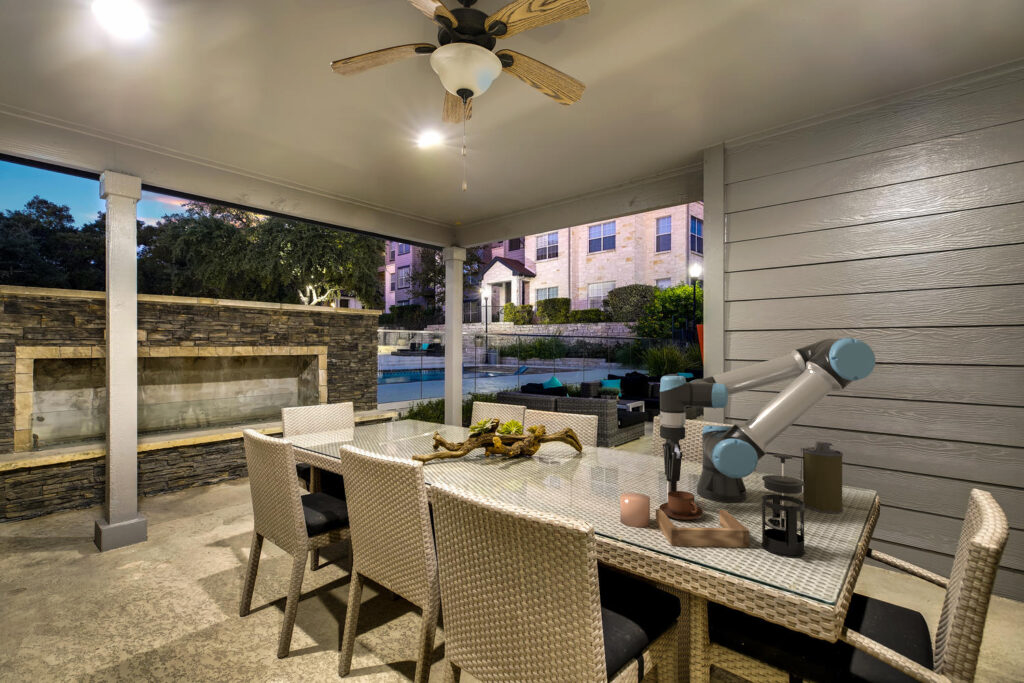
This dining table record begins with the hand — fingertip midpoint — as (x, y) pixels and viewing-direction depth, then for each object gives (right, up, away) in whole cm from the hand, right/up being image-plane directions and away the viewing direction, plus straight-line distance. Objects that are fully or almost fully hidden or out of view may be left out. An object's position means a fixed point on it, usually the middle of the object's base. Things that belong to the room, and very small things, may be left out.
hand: (671, 501), depth 148 cm
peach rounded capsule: (-15, -1, -15) cm, 21 cm away
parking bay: (-1, -1, -23) cm, 23 cm away
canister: (+45, -1, -2) cm, 45 cm away
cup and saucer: (0, -1, -9) cm, 9 cm away
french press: (+16, -1, -33) cm, 36 cm away
